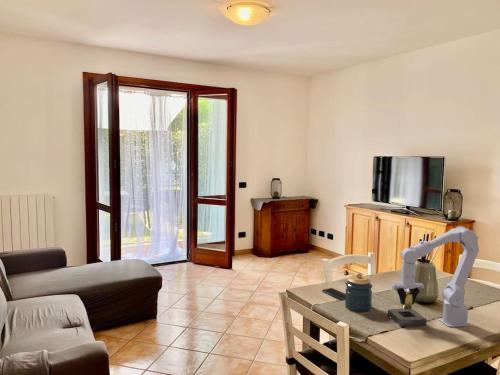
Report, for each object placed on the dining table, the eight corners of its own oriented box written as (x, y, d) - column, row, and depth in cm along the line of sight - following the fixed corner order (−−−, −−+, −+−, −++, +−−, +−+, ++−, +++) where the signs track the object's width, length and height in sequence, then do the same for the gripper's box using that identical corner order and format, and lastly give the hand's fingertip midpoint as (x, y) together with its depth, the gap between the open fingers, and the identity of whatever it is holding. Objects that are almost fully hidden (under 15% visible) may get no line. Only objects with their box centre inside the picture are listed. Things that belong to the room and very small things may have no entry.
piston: (408, 305, 175) (409, 291, 174) (413, 309, 171) (414, 294, 170) (400, 306, 175) (401, 291, 174) (405, 309, 171) (406, 295, 170)
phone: (340, 299, 197) (321, 290, 210) (340, 301, 197) (321, 292, 210) (351, 296, 201) (332, 287, 214) (351, 298, 201) (332, 289, 214)
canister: (373, 313, 181) (374, 278, 179) (345, 311, 183) (346, 276, 182) (370, 303, 194) (371, 269, 192) (344, 301, 196) (345, 268, 195)
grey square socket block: (411, 314, 180) (411, 308, 180) (426, 325, 169) (426, 319, 168) (387, 315, 179) (387, 309, 179) (400, 327, 167) (401, 320, 167)
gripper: (397, 278, 167) (396, 308, 168) (428, 277, 169) (426, 306, 170) (389, 273, 174) (388, 301, 175) (419, 272, 176) (418, 300, 177)
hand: (407, 303), depth 173 cm, fingers closed on piston, 4 cm apart
